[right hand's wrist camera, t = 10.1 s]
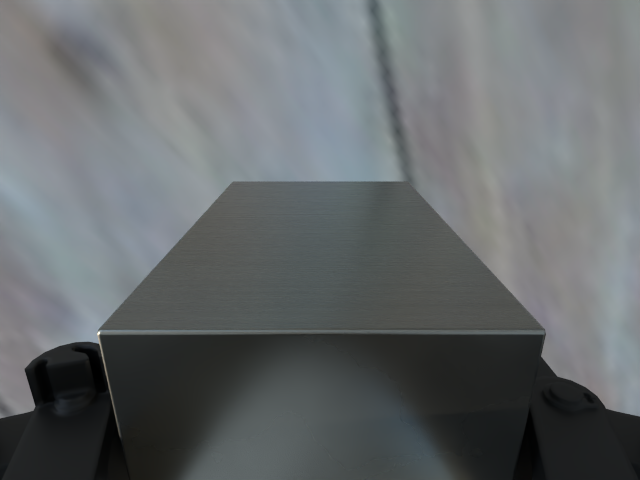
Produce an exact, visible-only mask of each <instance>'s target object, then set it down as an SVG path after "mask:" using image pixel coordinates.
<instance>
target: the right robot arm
mask: <svg viewBox="0 0 640 480" xmlns="http://www.w3.org/2000/svg"><path fill="white" fill-rule="evenodd" d="M25 372H26V376H27V379H28V382H29V386H30V389H31V392H32V396H33V399H34V403H35V406H36V407H35V409H34V411H31V412H28V413H24V414H19V415H14V416H10V417H5V418H1V419H0V480H129V477H128V473H127V468H126V463H125V459H124V454H123V450H122V445H121V440H120V436H119V431H118V427H117V422H116V417H115V413H114V408H113V404H112V399H111V394H110V390H109V385H108V381H107V376H106V371H105V367H104V362H103V358H102V353H101V348H100V344H97V343H92V342H75V343H71V344H67V345H63V346H59V347H57V348H54V349H52V350H49V351H47V352H45V353H43V354H42V355H40V356H39V357H37V358H36V359H34V360H32V362H31V363H30V364H29V365H28V366H27V367H26V368H25ZM514 480H640V417H639V416H634V415H630V414H625V413H620V412H616V411H612V410H608V409H606V408H605V406H604V405H603V403H602V402H601V401H600V399H599V398H598V397H597V396H596V395H595V394H594V393H592V392H591V391H590V390H588V389H587V388H586V387H584V386H582V385H579V384H577V383H575V382H573V381H571V380H567V379H564V378H560V377H557V376H556V374H555V373H554V372H553V371H552V370H551V368H550V367H549V366H548V365H547V363H546V362H545V361H544V360H543V358H542V357H541V358H540V362H539V367H538V372H537V376H536V381H535V385H534V390H533V394H532V399H531V403H530V408H529V412H528V417H527V422H526V426H525V431H524V435H523V440H522V444H521V449H520V453H519V458H518V462H517V467H516V472H515V476H514Z"/></svg>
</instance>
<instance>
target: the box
mask: <svg viewBox="0 0 640 480" xmlns="http://www.w3.org/2000/svg"><path fill="white" fill-rule="evenodd" d="M545 335H546V333H545V329H544V328H543V327H542V326H541V325H540V324H539V323H538V322H537V320H536V319H535V318H534V317H533V316H532V315H531V314H530V313H529V312H528V311H527V310H526V309H525V308H524V306H523V305H522V304H521V303H520V302H519V301H518V300H517V299H516V298H515V297H514V296H513V295H512V293H511V292H510V291H509V290H508V289H507V288H506V287H505V286H504V285H503V284H502V283H501V282H500V281H499V279H498V278H497V277H496V276H495V275H494V274H493V273H492V272H491V271H490V270H489V269H488V268H487V266H486V265H485V264H484V263H483V262H482V261H481V260H480V259H479V258H478V257H477V256H476V255H475V254H474V252H473V251H472V250H471V249H470V248H469V247H468V246H467V245H466V244H465V243H464V242H463V241H462V239H461V238H460V237H459V236H458V235H457V234H456V233H455V232H454V231H453V230H452V229H451V228H450V227H449V225H448V224H447V223H446V222H445V221H444V220H443V219H442V218H441V217H440V216H439V215H438V214H437V212H436V211H435V210H434V209H433V208H432V207H431V206H430V205H429V204H428V203H427V202H426V201H425V200H424V198H423V197H422V196H421V195H420V194H419V193H418V192H417V191H416V190H415V189H414V188H413V187H412V186H411V184H410V183H409V182H232V183H231V184H230V185H229V186H228V188H227V189H226V190H225V191H224V192H223V193H222V194H221V195H220V196H219V197H218V199H217V200H216V201H215V202H214V203H213V204H212V205H211V206H210V207H209V208H208V210H207V211H206V212H205V213H204V214H203V215H202V216H201V217H200V218H199V219H198V221H197V222H196V223H195V224H194V225H193V226H192V227H191V228H190V229H189V231H188V232H187V233H186V234H185V235H184V236H183V237H182V238H181V239H180V240H179V242H178V243H177V244H176V245H175V246H174V247H173V248H172V249H171V250H170V251H169V253H168V254H167V255H166V256H165V257H164V258H163V259H162V260H161V261H160V262H159V264H158V265H157V266H156V267H155V268H154V269H153V270H152V271H151V272H150V273H149V275H148V276H147V277H146V278H145V279H144V280H143V281H142V282H141V283H140V284H139V286H138V287H137V288H136V289H135V290H134V291H133V292H132V293H131V294H130V295H129V297H128V298H127V299H126V300H125V301H124V302H123V303H122V304H121V305H120V307H119V308H118V309H117V310H116V311H115V312H114V313H113V314H112V315H111V316H110V318H109V319H108V320H107V321H106V322H105V323H104V324H103V325H102V326H101V327H100V329H99V330H98V339H99V344H100V348H101V353H102V358H103V362H104V367H105V371H106V376H107V381H108V385H109V390H110V394H111V399H112V404H113V408H114V413H115V417H116V422H117V427H118V431H119V436H120V440H121V445H122V450H123V454H124V459H125V463H126V468H127V473H128V477H129V480H514V476H515V472H516V467H517V462H518V458H519V453H520V449H521V444H522V440H523V435H524V431H525V426H526V422H527V417H528V412H529V408H530V403H531V399H532V394H533V390H534V385H535V381H536V376H537V372H538V367H539V362H540V358H541V353H542V349H543V344H544V340H545Z"/></svg>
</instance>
